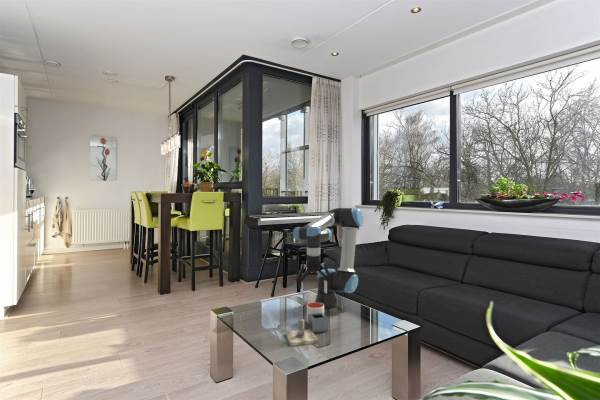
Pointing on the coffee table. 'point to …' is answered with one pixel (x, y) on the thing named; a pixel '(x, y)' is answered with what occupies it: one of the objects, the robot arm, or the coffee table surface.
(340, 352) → the coffee table surface
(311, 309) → the cup
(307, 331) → the shaft block
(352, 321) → the coffee table surface
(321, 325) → the collar
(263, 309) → the coffee table surface
